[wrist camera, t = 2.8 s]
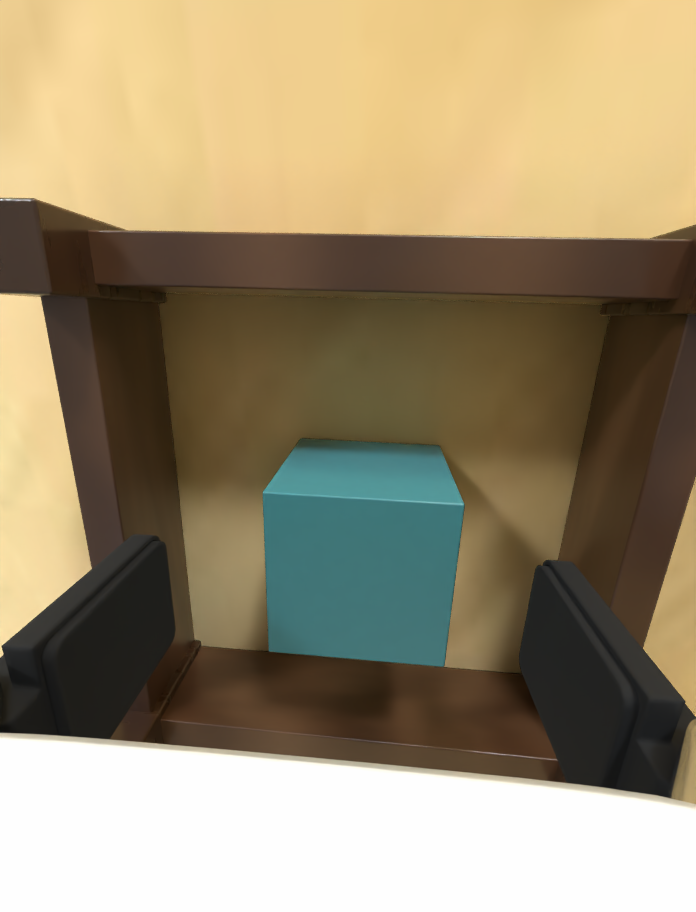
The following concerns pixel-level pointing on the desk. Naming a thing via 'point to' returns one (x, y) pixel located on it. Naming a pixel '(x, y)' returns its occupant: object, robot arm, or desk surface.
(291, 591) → the teal block
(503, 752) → the wooden frame
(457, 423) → the desk surface
